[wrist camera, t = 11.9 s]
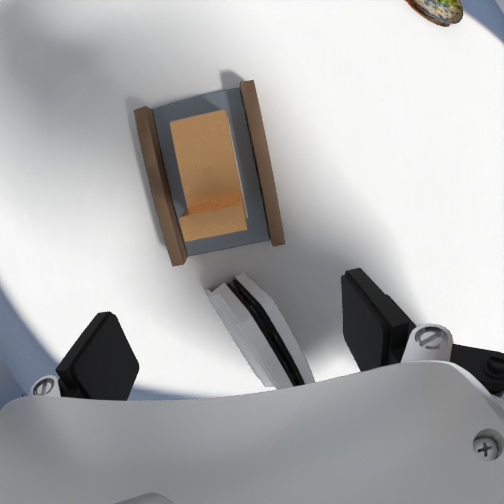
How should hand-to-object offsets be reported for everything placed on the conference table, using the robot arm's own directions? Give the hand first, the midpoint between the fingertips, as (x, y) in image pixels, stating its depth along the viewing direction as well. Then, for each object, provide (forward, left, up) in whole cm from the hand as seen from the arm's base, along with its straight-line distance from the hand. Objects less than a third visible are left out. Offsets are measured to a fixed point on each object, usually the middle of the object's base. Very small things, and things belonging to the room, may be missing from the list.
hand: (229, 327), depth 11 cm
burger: (-32, -28, -20) cm, 47 cm away
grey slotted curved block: (0, +15, -20) cm, 25 cm away
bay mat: (+1, -5, -19) cm, 20 cm away
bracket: (+1, -5, -19) cm, 20 cm away
